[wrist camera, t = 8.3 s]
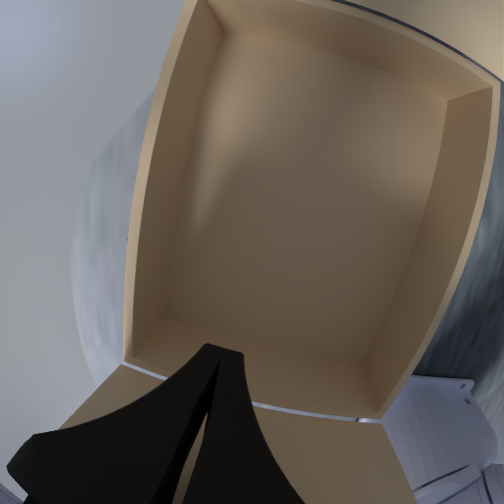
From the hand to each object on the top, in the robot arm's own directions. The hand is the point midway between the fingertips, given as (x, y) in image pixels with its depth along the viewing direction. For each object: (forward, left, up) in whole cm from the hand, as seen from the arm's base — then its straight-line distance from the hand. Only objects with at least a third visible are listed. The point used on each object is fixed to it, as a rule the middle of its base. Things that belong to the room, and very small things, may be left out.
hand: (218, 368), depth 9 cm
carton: (-2, -5, -8) cm, 9 cm away
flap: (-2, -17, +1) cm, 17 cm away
